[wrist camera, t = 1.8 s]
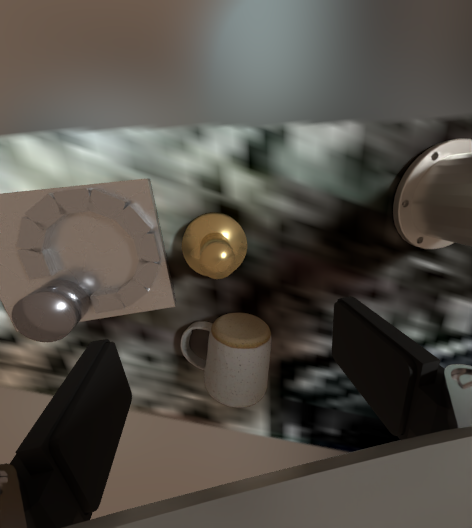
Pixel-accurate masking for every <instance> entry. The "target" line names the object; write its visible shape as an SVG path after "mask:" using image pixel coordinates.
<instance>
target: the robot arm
mask: <svg viewBox="0 0 472 528" xmlns="http://www.w3.org/2000/svg"><path fill="white" fill-rule="evenodd" d="M393 218H394V223H395V226H396V229H397V231H398V233H399V234H400V236H401V237H402V238H403V239H404V240H405V241H406V242H408V243H409V244H411V245H414V246H416V247H420V248H424V249H438V248H443V247H445V246H448V245H451V244H453V243H454V242H455V243H459V244H463V245H467V246H472V140H471V139H454V140H448V141H445V142H441V143H438V144H436V145H434V146H432V147H431V148H429V149H427V150H426V151H425V152H423V153H422V154H421V155H420V156H418V157H417V159H416V160H415V161H414V162H413V163H412V164H411V165H410V166H409V168H408V169H407V171H406V172H405V174H404V175H403V177H402V179H401V181H400V183H399V185H398V188H397V191H396V194H395V198H394V204H393ZM332 355H333V358H334V360H335V361H336V363H337V364H338V365H339V366H340V368H341V369H342V370H343V372H344V373H345V374H346V375H347V377H348V378H349V379H350V381H351V382H352V383H353V385H354V386H355V387H356V388H357V390H358V391H359V392H360V394H361V395H362V396H363V397H364V399H365V400H366V401H367V403H368V404H369V405H370V406H371V408H372V409H373V410H374V412H375V413H376V414H377V416H378V417H379V418H380V419H381V421H382V422H383V423H384V425H385V426H386V427H387V428H388V430H389V431H390V432H391V433H392V434H393V435H395V436H398V437H399V438H400V441H395V442H391V443H387V444H383V445H379V446H375V447H371V448H367V449H363V450H359V451H355V452H351V453H347V454H343V455H339V456H334V457H330V458H327V459H322V460H318V461H314V462H311V463H306V464H302V465H299V466H295V467H291V468H287V469H283V470H279V471H275V472H271V473H267V474H263V475H259V476H255V477H251V478H247V479H243V480H239V481H236V482H232V483H227V484H224V485H220V486H216V487H212V488H208V489H204V490H201V491H197V492H193V493H189V494H185V495H181V496H177V497H173V498H170V499H166V500H162V501H158V502H154V503H150V504H147V505H143V506H139V507H135V508H132V509H127V510H124V511H120V512H116V513H113V514H109V515H106V516H103V517H99V518H96V519H92V520H90V518H91V515H92V512H94V511H96V510H97V509H98V507H99V505H100V502H101V498H102V495H103V492H104V489H105V486H106V482H107V479H108V476H109V472H110V469H111V466H112V463H113V460H114V456H115V453H116V450H117V447H118V443H119V440H120V437H121V434H122V430H123V427H124V424H125V421H126V417H127V414H128V411H129V408H130V404H131V401H132V393H131V390H130V387H129V384H128V381H127V378H126V375H125V372H124V369H123V366H122V363H121V360H120V357H119V354H118V351H117V349H116V346H115V343H114V342H110V341H109V340H108V339H105V340H99V341H93V342H91V343H90V344H89V345H88V347H87V348H86V349H85V351H84V352H83V354H82V355H81V357H80V358H79V360H78V361H77V363H76V364H75V366H74V367H73V369H72V370H71V372H70V373H69V374H68V376H67V377H66V379H65V380H64V382H63V383H62V385H61V386H60V388H59V389H58V391H57V392H56V394H55V395H54V396H53V398H52V399H51V401H50V402H49V404H48V405H47V407H46V408H45V410H44V411H43V413H42V414H41V416H40V417H39V419H38V420H37V422H36V423H35V424H34V426H33V427H32V429H31V430H30V432H29V433H28V435H27V436H26V438H25V439H24V440H23V442H22V443H21V445H20V446H19V448H18V450H17V451H16V455H15V457H14V458H13V460H12V461H11V463H10V464H7V463H6V464H0V528H472V366H468V365H462V364H453V365H450V366H447V367H446V368H445V369H444V368H443V367H441V366H440V365H439V363H440V360H439V359H438V358H437V357H435V356H434V355H432V354H431V353H430V352H428V351H427V350H426V349H424V348H423V347H421V346H420V345H419V344H417V343H416V342H415V341H413V340H412V339H410V338H409V337H408V336H406V335H405V334H404V333H402V332H401V331H399V330H398V329H397V328H395V327H394V326H393V325H391V324H390V323H388V322H387V321H386V320H384V319H383V318H382V317H380V316H379V315H378V314H376V313H375V312H373V311H372V310H371V309H369V308H368V307H367V306H365V305H364V304H362V303H361V302H360V301H358V300H357V299H356V298H354V297H346V298H340V299H338V301H337V302H336V303H335V304H334V319H333V339H332Z"/></svg>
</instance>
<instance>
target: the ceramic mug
mask: <svg viewBox="0 0 472 528" xmlns="http://www.w3.org/2000/svg"><path fill="white" fill-rule="evenodd" d="M194 329H203V330H208V331H209V332H210V333H209V339H208V351H207V359H206V360H204V359H202V358H200V357H198V356H197V355H196V354H195V353H194V352H193V351H192V350H191V348H190V345H189V340H190V335H191V334H192V330H194ZM271 342H272V341H271V332H270V328H269V327H268V325H267V324H266V323H265V322H264V321H263V320H261V319H260V318H258V317H256V316H254V315H251V314H247V313H229V314H225V315H223V316H221V317H219V318H217V319H216V320H215V322H214V323H210V322H206V321H202V322H201V321H200V322H195V323H193V324H191V325H190V326H189V327H188V328H187V329H186V330H185V331H184V333H183V335H182V337H181V351H182V353H183V355H184V356H185V358H186V359H187V360H188V361H189V362H190V363H191V364H193V365H194V366H195V367H197V368H199V369H201V370H203V371H205V376H204V382H205V387H206V390H207V391H208V393H209V394H210V396H212V397H213V398H214V399H215V400H216V401H218V402H219V403H221V404H224V405H226V406H229V407H235V408H236V407H239V408H243V407H248V406H251V405H254V404H256V403H257V402H259V401H260V400H261V399H262V398H263V396H264V394H265V392H266V389H267V382H268V372H269V362H270V352H271Z"/></svg>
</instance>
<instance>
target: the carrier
mask: <svg viewBox="0 0 472 528" xmlns="http://www.w3.org/2000/svg"><path fill="white" fill-rule="evenodd" d="M0 299H1V301H2V303H3V305H4V307H5V309H6V311H7V313H8V315H9V317H10V319H11V321H12V323H13V325H14V327H15V329H16V331H17V332H21V333H22V334H23V335H25V336H26V337H28V338H30V339H33V340H36V341H40V342H53V341H57V340H60V339H62V338H64V337H65V336H67V335H68V334H69V332H70V331H71V330H72V329H73V328H74V327H75V326H76V324H77V323H78V322H81V321H88V320H94V319H100V318H106V317H113V316H119V315H125V314H132V313H138V312H144V311H150V310H157V309H163V308H169V307H175V306H176V298H175V293H174V288H173V284H172V279H171V274H170V270H169V265H168V260H167V256H166V251H165V246H164V242H163V237H162V232H161V228H160V223H159V218H158V214H157V209H156V204H155V200H154V195H153V190H152V186H151V181H150V179H139V180H129V181H119V182H110V183H100V184H90V185H81V186H71V187H61V188H51V189H42V190H32V191H22V192H13V193H3V194H0Z"/></svg>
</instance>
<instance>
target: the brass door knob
mask: <svg viewBox="0 0 472 528" xmlns="http://www.w3.org/2000/svg"><path fill="white" fill-rule="evenodd" d="M246 251H247V240H246V236H245V233H244V231H243V229H242V228H241V227H240V225H239V224H238V223H237V222H236V221H235V220H234V219H233V218H231V217H230V216H228V215H226V214H223V213H218V212H210V213H205V214H202V215H200V216H198V217H197V218H195V219H194V220H193V221H192V222H191V223H190V224H189V225H188V227H187V228H186V231H185V233H184V236H183V240H182V252H183V256H184V258H185V260H186V262H187V263H188V265H189V266H190V267H191V268H192V269H193V270H194V271H196V272H197V273H199V274H201V275H204V276H208V277H210V278H213V279H222V278H225V277H227V276H229V275H230V274H231V273H232V272H233V271H234V270H236V269H237V268H238V267H239V266H240V264H241V263H242V262H243V260H244V258H245V255H246Z"/></svg>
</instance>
